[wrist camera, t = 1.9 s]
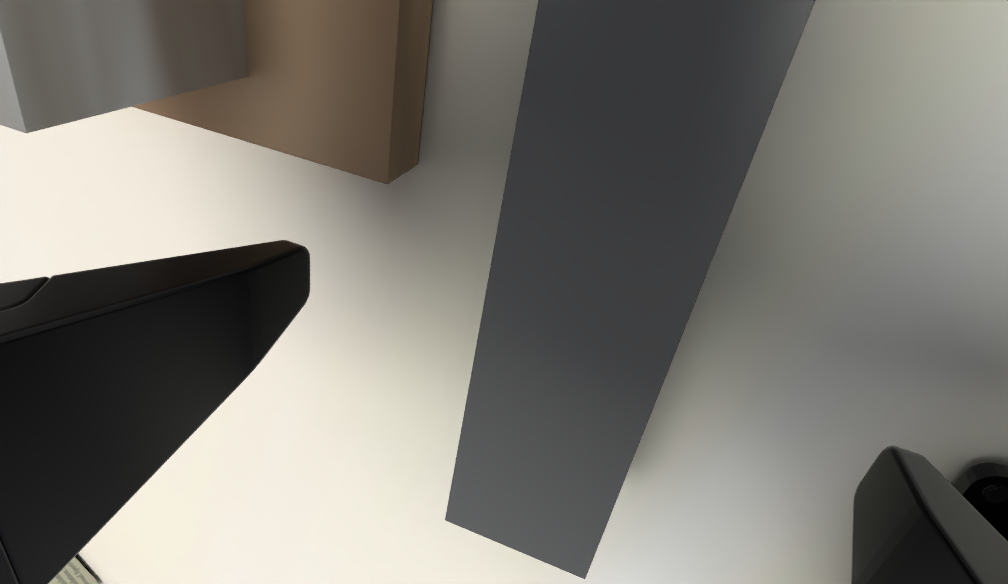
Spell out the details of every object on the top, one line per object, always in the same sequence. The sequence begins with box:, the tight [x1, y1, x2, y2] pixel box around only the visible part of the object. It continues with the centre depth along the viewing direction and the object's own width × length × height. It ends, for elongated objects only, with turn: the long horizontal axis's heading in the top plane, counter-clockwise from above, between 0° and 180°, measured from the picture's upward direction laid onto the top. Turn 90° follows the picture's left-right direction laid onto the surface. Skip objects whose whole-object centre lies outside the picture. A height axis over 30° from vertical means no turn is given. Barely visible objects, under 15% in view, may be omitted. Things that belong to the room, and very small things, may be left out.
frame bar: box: [445, 0, 815, 579], centre depth 12 cm, size 4×14×4 cm, turn 171°
